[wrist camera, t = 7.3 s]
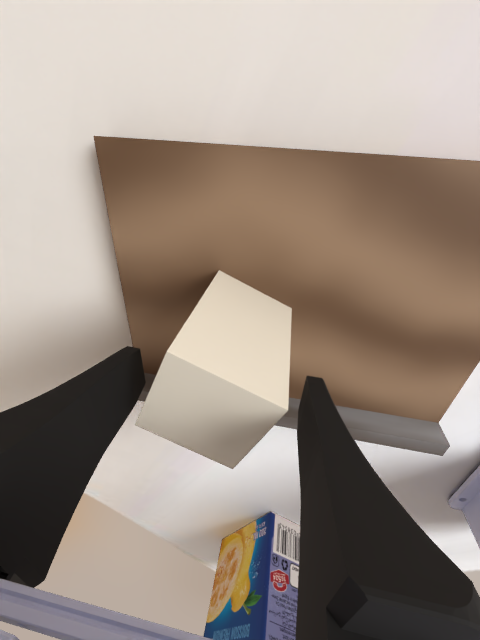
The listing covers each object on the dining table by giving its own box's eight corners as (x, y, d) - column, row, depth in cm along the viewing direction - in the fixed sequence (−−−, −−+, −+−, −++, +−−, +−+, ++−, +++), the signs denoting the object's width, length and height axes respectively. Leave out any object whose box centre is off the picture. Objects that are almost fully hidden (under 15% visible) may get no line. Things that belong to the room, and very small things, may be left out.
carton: (219, 270, 15) (166, 351, 9) (291, 308, 15) (288, 410, 9) (189, 332, 17) (133, 428, 11) (252, 364, 18) (229, 472, 12)
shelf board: (423, 419, 19) (440, 457, 17) (147, 372, 21) (129, 400, 19) (578, 167, 11) (655, 172, 9) (109, 136, 13) (68, 134, 11)
